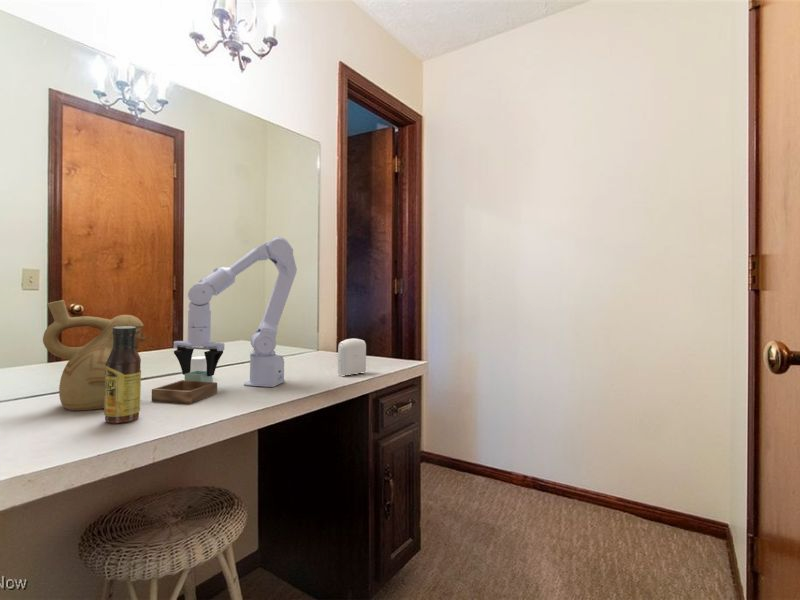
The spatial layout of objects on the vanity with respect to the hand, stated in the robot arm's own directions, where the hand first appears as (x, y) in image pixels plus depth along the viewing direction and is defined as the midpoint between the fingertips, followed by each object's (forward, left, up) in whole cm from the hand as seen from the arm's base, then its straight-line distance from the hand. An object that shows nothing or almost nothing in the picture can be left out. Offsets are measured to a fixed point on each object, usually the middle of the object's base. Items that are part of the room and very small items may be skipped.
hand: (198, 374), depth 112 cm
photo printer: (-36, -30, -4) cm, 47 cm away
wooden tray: (-3, +9, -4) cm, 10 cm away
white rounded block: (+7, -10, -4) cm, 13 cm away
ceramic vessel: (+13, +19, -4) cm, 23 cm away
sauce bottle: (-3, +28, -4) cm, 28 cm away
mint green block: (0, 0, -4) cm, 4 cm away
